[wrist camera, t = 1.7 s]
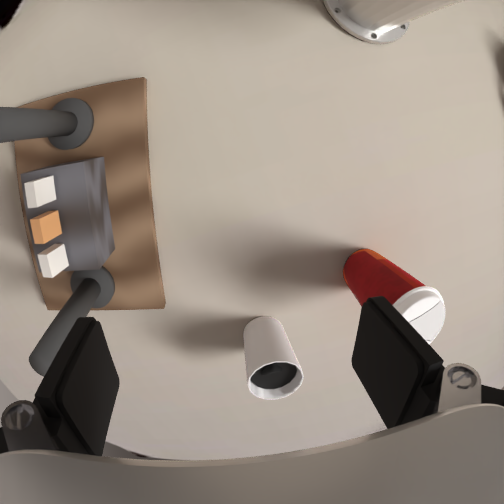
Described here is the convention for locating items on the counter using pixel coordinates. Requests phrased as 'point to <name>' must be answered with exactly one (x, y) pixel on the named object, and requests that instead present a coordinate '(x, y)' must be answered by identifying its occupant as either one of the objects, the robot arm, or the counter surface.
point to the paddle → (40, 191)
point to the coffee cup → (395, 291)
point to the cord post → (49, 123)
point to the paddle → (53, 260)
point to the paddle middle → (46, 227)
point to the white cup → (270, 360)
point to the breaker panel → (122, 191)
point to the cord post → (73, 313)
